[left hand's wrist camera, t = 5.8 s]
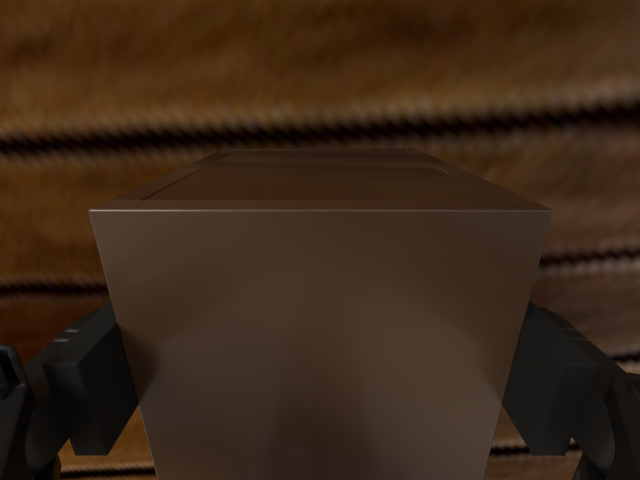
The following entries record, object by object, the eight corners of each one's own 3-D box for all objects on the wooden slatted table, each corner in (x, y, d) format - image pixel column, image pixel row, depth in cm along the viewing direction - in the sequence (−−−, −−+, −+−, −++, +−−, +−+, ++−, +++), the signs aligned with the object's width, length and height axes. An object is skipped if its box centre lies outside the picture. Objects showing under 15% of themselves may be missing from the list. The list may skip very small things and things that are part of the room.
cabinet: (391, 390, 24) (448, 614, 13) (248, 390, 24) (191, 614, 13) (415, 148, 18) (554, 209, 7) (224, 148, 18) (85, 209, 7)
